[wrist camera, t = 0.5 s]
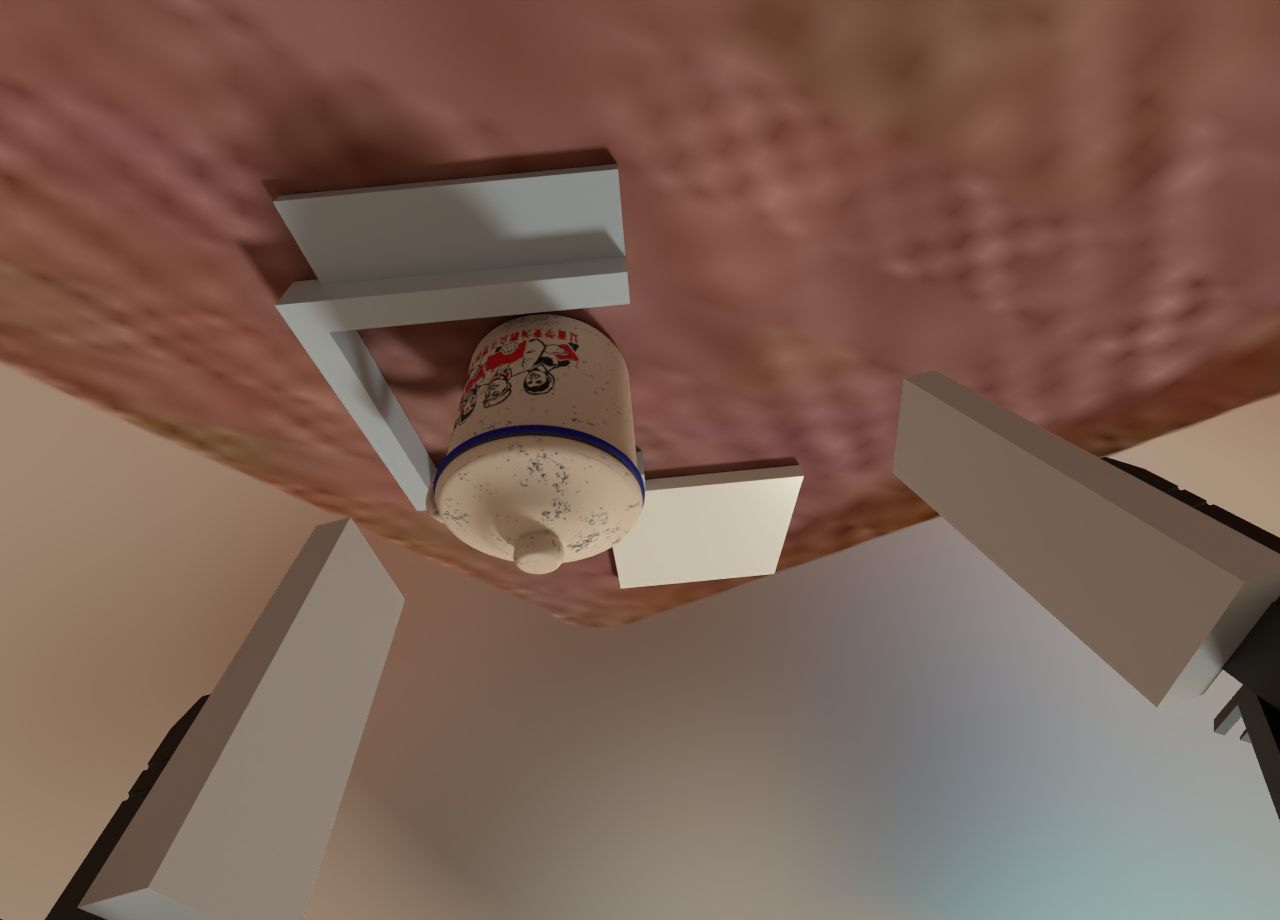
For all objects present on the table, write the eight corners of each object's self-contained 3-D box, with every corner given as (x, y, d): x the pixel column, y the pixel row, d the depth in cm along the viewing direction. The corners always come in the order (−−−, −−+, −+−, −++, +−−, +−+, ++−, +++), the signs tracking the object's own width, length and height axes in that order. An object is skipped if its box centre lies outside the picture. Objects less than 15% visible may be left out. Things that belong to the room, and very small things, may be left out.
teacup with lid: (573, 273, 23) (567, 459, 15) (660, 398, 29) (687, 576, 21) (388, 379, 26) (306, 573, 19) (500, 471, 33) (474, 644, 25)
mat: (602, 483, 34) (602, 495, 34) (799, 464, 34) (803, 475, 34) (620, 578, 45) (620, 588, 44) (771, 564, 45) (774, 573, 44)
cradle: (241, 199, 19) (215, 220, 18) (617, 163, 19) (619, 182, 18) (442, 516, 36) (437, 539, 35) (645, 496, 36) (648, 519, 35)
